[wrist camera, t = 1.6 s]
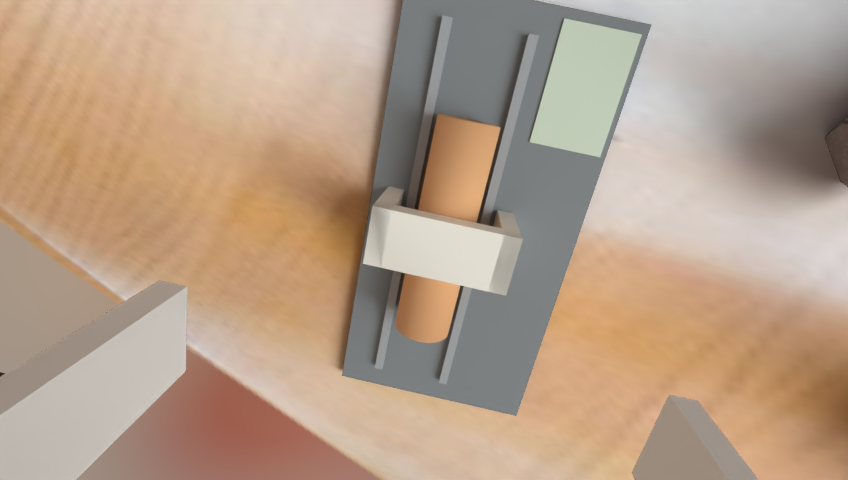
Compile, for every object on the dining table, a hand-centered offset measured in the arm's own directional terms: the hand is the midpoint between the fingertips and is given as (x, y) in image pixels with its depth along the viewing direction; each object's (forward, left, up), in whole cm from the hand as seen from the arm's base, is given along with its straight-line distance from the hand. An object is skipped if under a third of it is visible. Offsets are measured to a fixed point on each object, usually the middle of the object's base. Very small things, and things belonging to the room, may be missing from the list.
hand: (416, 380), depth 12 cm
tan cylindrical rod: (0, 0, -14) cm, 14 cm away
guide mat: (0, +2, -15) cm, 15 cm away
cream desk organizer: (0, 0, -14) cm, 14 cm away
